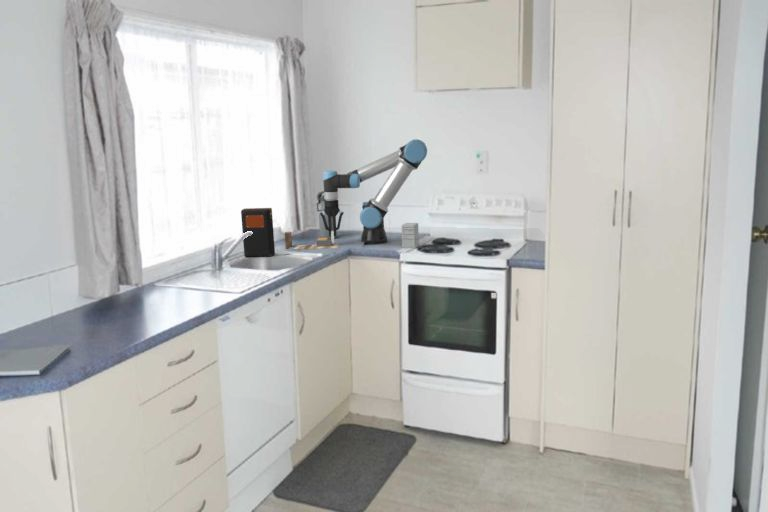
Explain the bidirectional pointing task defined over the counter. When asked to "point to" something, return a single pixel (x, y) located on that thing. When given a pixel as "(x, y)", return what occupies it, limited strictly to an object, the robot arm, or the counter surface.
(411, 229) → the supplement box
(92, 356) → the counter surface
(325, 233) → the water bottle
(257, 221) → the voltmeter
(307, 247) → the plywood panel
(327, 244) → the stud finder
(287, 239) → the peg
